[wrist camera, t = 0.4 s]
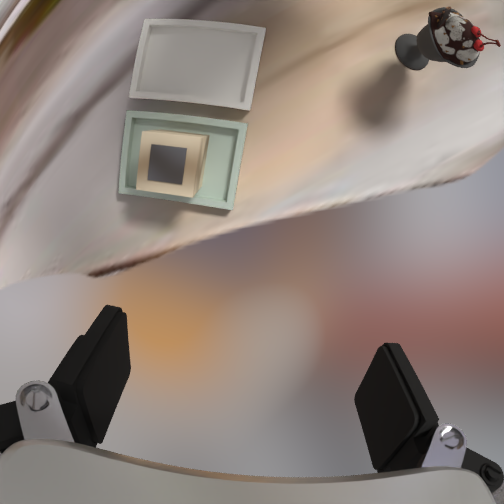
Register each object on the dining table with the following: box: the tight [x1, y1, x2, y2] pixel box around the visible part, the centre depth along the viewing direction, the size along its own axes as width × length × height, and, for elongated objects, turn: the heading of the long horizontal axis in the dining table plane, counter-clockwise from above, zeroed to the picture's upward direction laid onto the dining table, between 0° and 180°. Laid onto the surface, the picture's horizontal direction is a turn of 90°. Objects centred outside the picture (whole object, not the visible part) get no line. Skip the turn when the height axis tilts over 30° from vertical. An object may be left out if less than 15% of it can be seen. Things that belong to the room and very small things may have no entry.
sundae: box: [395, 7, 501, 70], centre depth 23 cm, size 7×7×15 cm
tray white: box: [129, 19, 266, 111], centre depth 31 cm, size 10×14×2 cm
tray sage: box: [118, 110, 248, 210], centre depth 35 cm, size 10×14×2 cm
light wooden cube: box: [136, 129, 210, 198], centre depth 32 cm, size 6×6×6 cm
